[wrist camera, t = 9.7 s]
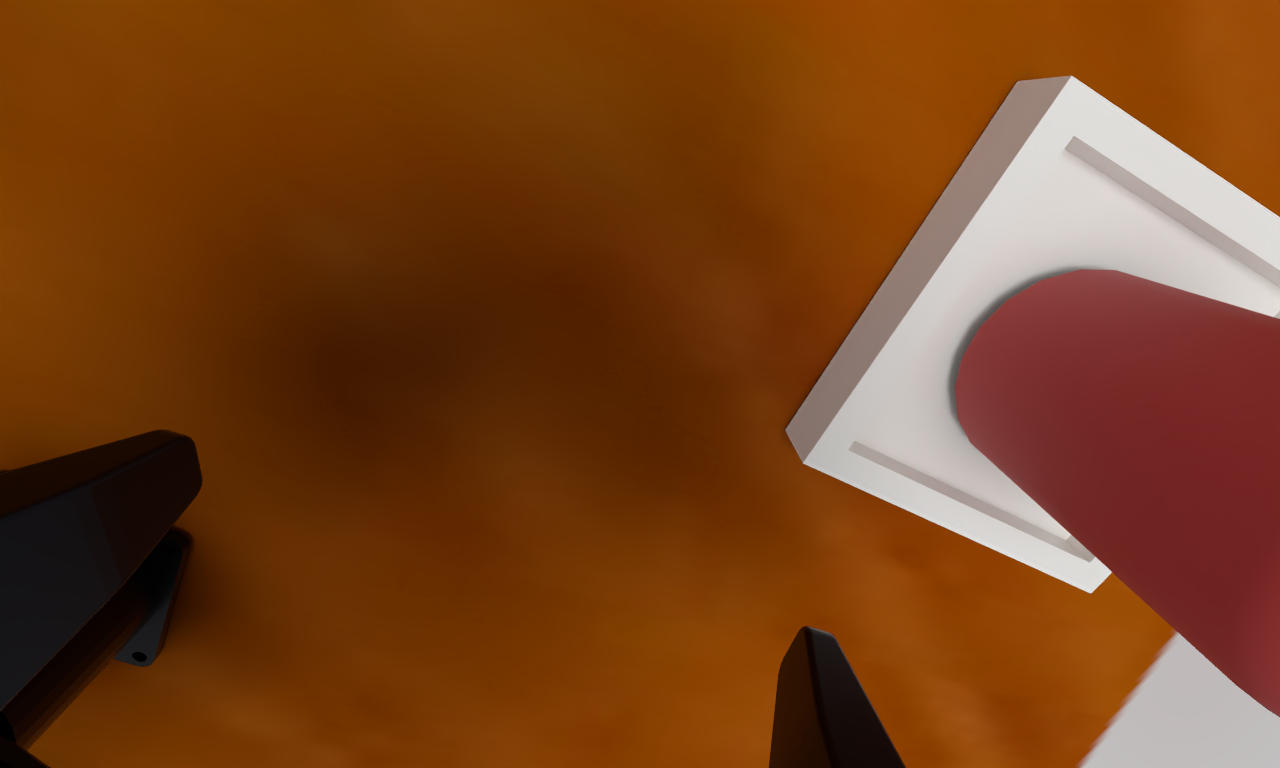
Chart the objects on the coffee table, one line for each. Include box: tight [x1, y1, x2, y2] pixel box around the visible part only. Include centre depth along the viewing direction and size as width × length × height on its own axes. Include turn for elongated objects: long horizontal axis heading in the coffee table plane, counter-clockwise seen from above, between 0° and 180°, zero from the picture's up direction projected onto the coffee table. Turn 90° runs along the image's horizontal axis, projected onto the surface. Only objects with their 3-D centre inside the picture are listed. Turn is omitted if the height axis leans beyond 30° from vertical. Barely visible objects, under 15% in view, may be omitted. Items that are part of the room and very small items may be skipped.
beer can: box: [955, 269, 1280, 717], centre depth 14 cm, size 7×7×12 cm
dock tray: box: [785, 76, 1280, 593], centre depth 19 cm, size 12×12×2 cm
